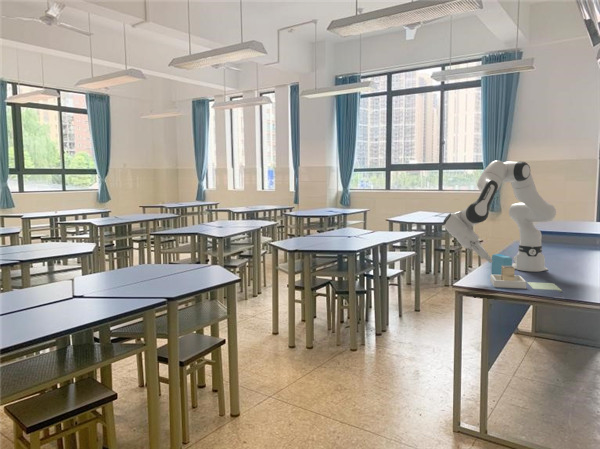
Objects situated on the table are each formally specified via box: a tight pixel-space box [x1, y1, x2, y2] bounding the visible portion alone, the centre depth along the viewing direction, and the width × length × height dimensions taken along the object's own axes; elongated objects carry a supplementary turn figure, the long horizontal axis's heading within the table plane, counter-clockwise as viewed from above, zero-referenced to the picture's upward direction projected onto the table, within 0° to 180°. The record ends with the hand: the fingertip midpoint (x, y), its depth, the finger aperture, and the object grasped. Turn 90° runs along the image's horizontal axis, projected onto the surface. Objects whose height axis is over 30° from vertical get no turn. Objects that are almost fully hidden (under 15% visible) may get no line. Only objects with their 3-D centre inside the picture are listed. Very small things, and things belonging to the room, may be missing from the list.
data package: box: [491, 253, 513, 275], centre depth 232 cm, size 12×4×12 cm, turn 5°
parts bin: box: [489, 273, 527, 289], centre depth 214 cm, size 14×14×4 cm
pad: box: [526, 281, 563, 293], centre depth 210 cm, size 14×12×1 cm
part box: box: [501, 265, 516, 281], centre depth 214 cm, size 5×5×9 cm
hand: (490, 260), depth 216 cm, fingers open, 8 cm apart
